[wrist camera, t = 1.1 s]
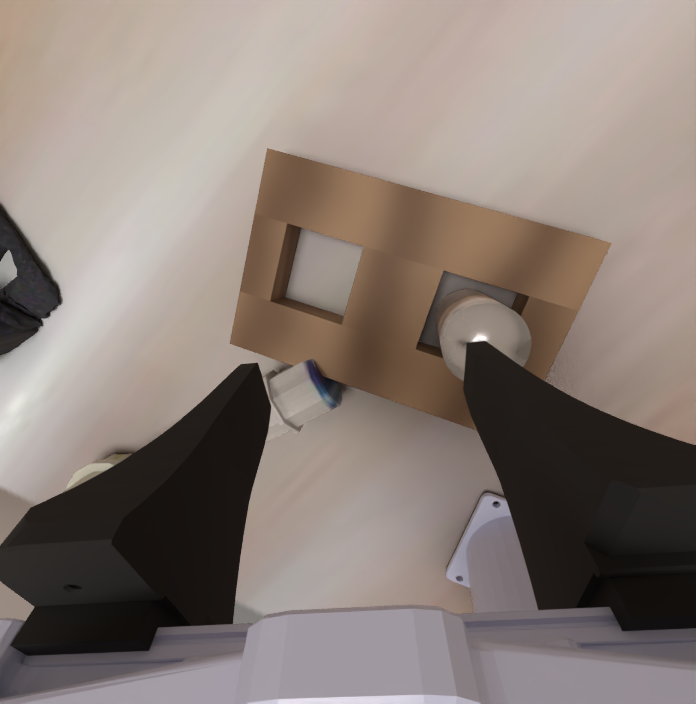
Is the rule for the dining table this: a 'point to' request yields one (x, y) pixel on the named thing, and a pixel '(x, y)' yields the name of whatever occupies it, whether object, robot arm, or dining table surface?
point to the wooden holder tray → (399, 280)
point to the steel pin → (479, 328)
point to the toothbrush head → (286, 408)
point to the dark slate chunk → (22, 292)
